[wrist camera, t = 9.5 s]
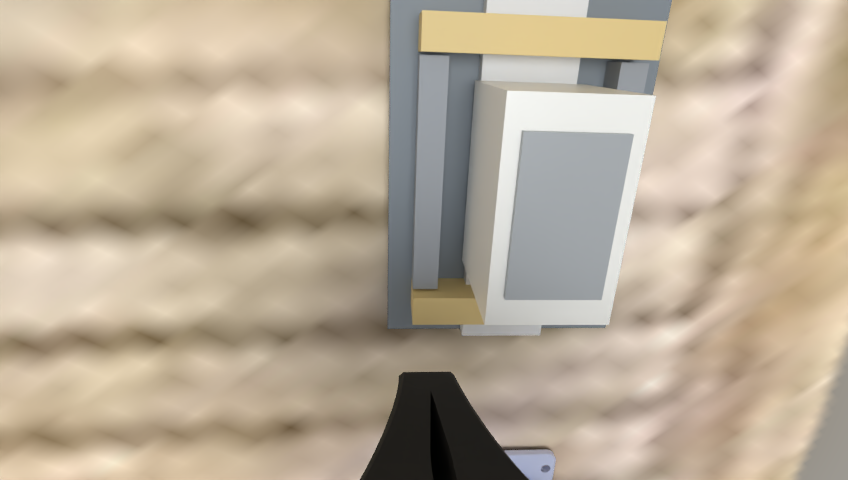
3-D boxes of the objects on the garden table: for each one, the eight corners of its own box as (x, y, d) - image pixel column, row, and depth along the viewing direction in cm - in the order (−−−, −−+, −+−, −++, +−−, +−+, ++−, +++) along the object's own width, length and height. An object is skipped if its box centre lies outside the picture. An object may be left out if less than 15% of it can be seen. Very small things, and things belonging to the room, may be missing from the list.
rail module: (557, 260, 20) (611, 328, 15) (462, 260, 19) (485, 328, 15) (584, 84, 17) (660, 96, 12) (475, 80, 17) (508, 91, 12)
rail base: (596, 316, 23) (623, 350, 20) (387, 317, 22) (387, 352, 19) (659, -12, 18) (706, -23, 15) (390, -25, 17) (390, -39, 14)
